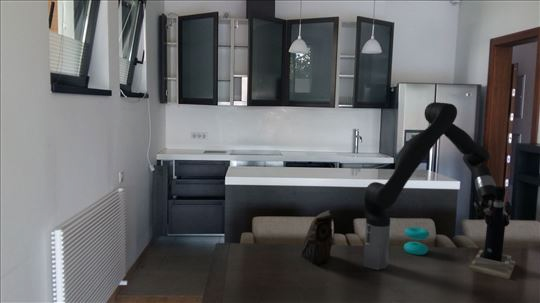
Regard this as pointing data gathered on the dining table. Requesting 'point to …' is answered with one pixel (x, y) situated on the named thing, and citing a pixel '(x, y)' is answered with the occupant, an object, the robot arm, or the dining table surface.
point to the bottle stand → (493, 265)
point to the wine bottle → (495, 228)
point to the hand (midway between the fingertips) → (498, 225)
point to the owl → (318, 240)
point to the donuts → (416, 234)
